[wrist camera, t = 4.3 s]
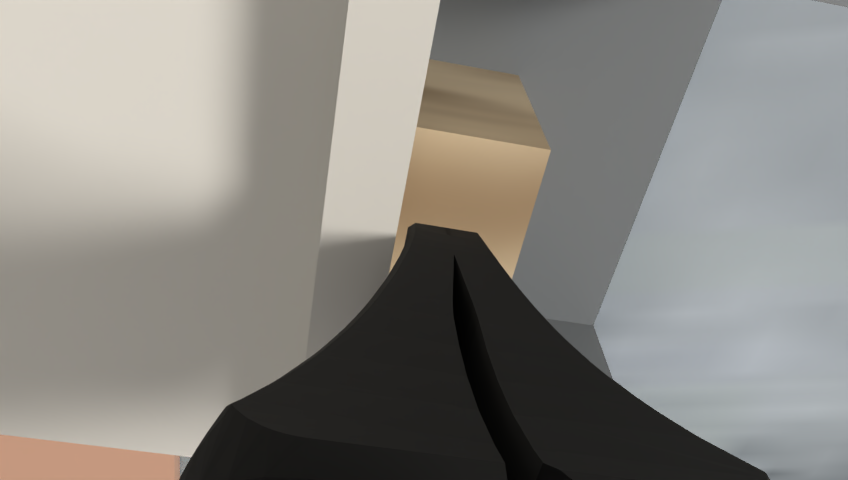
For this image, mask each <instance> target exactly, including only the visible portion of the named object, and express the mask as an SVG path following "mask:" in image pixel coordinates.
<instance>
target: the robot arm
mask: <svg viewBox="0 0 848 480" xmlns="http://www.w3.org/2000/svg"><path fill="white" fill-rule="evenodd" d="M179 480H770V479H769V477H768V476H767V474H766V473H765V472H764V471H762V470H760V469H758V468H756V467H754V466H752V465H750V464H748V463H746V462H745V461H743V460H741V459H739V458H737V457H735V456H733V455H731V454H729V453H728V452H726V451H724V450H722V449H720V448H718V447H716V446H714V445H712V444H711V443H709V442H707V441H705V440H703V439H701V438H699V437H698V436H696V435H694V434H693V433H691V432H689V431H688V430H686V429H684V428H683V427H681V426H680V425H678V424H676V423H675V422H673V421H672V420H670V419H668V418H667V417H665V416H664V415H662V414H660V413H659V412H657V411H656V410H654V409H653V408H651V407H650V406H648V405H647V404H645V403H644V402H642V401H641V400H640V399H638V398H637V397H635V396H634V395H633V394H631V393H630V392H629V391H627V390H626V389H625V388H623V387H622V386H621V385H619V384H618V383H617V382H615V381H614V380H613V379H611V378H610V377H609V376H607V375H606V374H605V373H603V372H602V371H601V370H600V369H599V368H597V367H596V366H595V365H594V364H592V363H591V362H590V361H589V360H588V359H587V358H586V357H585V356H583V355H582V354H581V353H580V352H579V351H578V350H577V349H576V348H575V347H573V346H572V345H571V344H570V343H569V342H568V341H567V340H566V339H565V338H564V337H563V336H562V335H561V334H560V333H559V332H558V331H557V330H556V329H555V328H554V327H553V326H552V325H551V324H550V323H549V322H548V321H547V320H546V319H545V318H544V316H543V315H542V314H541V313H540V312H539V311H538V310H537V309H536V308H535V307H534V306H533V304H532V303H531V302H530V301H529V300H528V299H527V297H526V296H525V295H524V294H523V293H522V291H521V290H520V289H519V288H518V286H517V285H516V284H515V283H514V281H513V280H512V279H511V278H510V276H509V275H508V274H507V272H506V271H505V270H504V268H503V267H502V266H501V264H500V263H499V262H498V260H497V259H496V257H495V256H494V255H493V253H492V252H491V251H490V249H489V248H488V246H487V245H486V244H485V242H484V241H483V240H482V238H481V237H480V236H479V234H478V233H476V232H470V231H464V230H457V229H451V228H445V227H439V226H433V225H427V224H420V223H414V224H412V225H411V226H409V227H408V230H407V235H406V240H405V244H404V247H403V250H402V252H401V254H400V256H399V258H398V259H397V261H396V263H395V265H394V266H393V268H392V270H391V271H390V273H389V275H388V276H387V278H386V279H385V281H384V282H383V283H382V285H381V286H380V287H379V289H378V290H377V291H376V293H375V294H374V295H373V297H372V298H371V299H370V301H369V302H368V303H367V304H366V305H365V307H364V308H363V309H362V310H361V311H360V312H359V313H358V315H357V316H356V317H355V318H354V319H353V320H352V321H351V322H350V323H349V324H348V325H347V326H346V327H345V328H344V329H343V330H342V331H341V332H339V333H338V334H337V335H336V336H335V337H334V338H333V339H332V340H331V341H329V342H328V343H327V344H326V345H325V346H324V347H322V348H321V349H320V350H319V351H318V352H316V353H315V354H314V355H312V356H311V357H310V358H308V359H307V360H305V361H304V362H302V363H301V364H299V365H298V366H296V367H295V368H294V369H292V370H291V371H289V372H288V373H286V374H285V375H283V376H282V377H280V378H279V379H277V380H276V381H274V382H272V383H271V384H269V385H267V386H265V387H263V388H261V389H259V390H257V391H255V392H254V393H252V394H250V395H248V396H246V397H244V398H242V399H240V400H238V401H236V402H233V403H231V404H229V405H228V406H226V407H225V408H224V410H223V411H222V412H221V414H220V415H219V416H218V418H217V419H216V421H215V422H214V423H213V425H212V426H211V428H210V429H209V431H208V432H207V433H206V435H205V436H204V438H203V439H202V441H201V443H200V444H199V446H198V447H197V449H196V450H195V452H194V454H193V455H192V457H191V459H190V461H189V462H188V464H187V466H186V468H185V470H184V471H183V473H182V475H181V477H180V479H179Z"/></svg>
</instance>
